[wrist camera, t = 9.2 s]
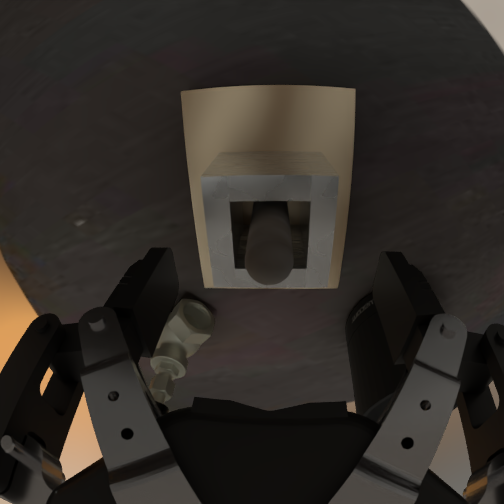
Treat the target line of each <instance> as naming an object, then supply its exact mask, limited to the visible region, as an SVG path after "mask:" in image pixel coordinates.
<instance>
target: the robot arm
mask: <svg viewBox="0 0 504 504" xmlns="http://www.w3.org/2000/svg"><path fill="white" fill-rule="evenodd" d="M178 289H179V283H178V277H177V272H176V267H175V262H174V257H173V252H172V250H171V248H151V249H150V250H149V251H148V253H147V254H146V256H145V257H144V259H143V260H138V261H137V262H136V263H134V264H133V265H132V266H130V267H129V269H128V270H127V272H126V273H125V274H124V277H122V279H121V280H120V282H119V284H118V285H117V286H116V288H115V289H114V291H113V292H112V294H111V295H110V297H109V298H108V300H107V302H106V303H105V305H104V306H103V307H97V308H93V309H91V310H89V311H88V312H86V313H85V314H84V315H83V316H82V317H81V319H80V320H79V323H72V324H64V325H62V324H61V322H60V320H59V318H58V317H57V316H56V315H55V314H50V313H49V314H44V315H41V316H39V317H37V318H36V319H35V320H34V321H33V322H32V323H31V324H30V325H29V327H28V328H27V330H26V332H25V333H24V335H23V336H22V338H21V339H20V341H19V342H18V344H17V346H16V347H15V349H14V351H13V352H12V354H11V355H10V357H9V359H8V361H7V362H6V364H5V366H4V367H3V369H2V371H1V373H0V498H2V499H4V500H6V501H8V502H10V503H12V504H504V326H503V325H501V324H491V325H490V326H489V327H488V328H487V330H486V331H485V333H484V335H483V334H478V333H472V332H467V330H466V327H465V325H464V324H463V323H462V322H461V321H460V320H459V319H458V318H456V317H454V316H452V315H449V314H445V312H444V310H443V308H442V307H441V305H440V303H439V301H438V299H437V298H436V296H435V294H434V292H433V291H432V290H431V287H430V285H429V284H428V283H427V280H426V279H425V277H424V275H423V274H422V272H421V271H419V270H418V269H417V268H416V267H415V266H413V265H409V264H408V262H407V260H406V259H405V257H404V255H403V254H402V253H401V252H382V253H381V255H380V258H379V263H378V267H377V271H376V275H375V280H374V284H373V300H374V303H375V306H376V308H377V311H378V314H379V317H380V320H381V323H382V326H383V329H384V333H385V336H386V339H387V342H388V345H389V349H390V352H391V355H392V359H393V362H394V365H396V364H406V367H407V369H406V371H405V372H404V374H403V376H402V378H401V380H400V382H399V384H398V386H397V388H396V390H395V392H394V393H393V395H392V397H391V399H390V401H389V402H388V404H387V406H386V408H385V409H384V411H383V413H382V414H381V416H380V418H379V419H378V421H377V422H375V421H373V420H371V419H369V418H368V417H365V416H363V415H360V414H356V413H353V412H348V411H347V405H346V401H342V402H320V403H306V404H302V405H298V406H293V407H289V408H284V409H279V410H274V411H267V410H262V409H259V408H255V407H251V406H248V405H244V404H241V403H237V402H234V401H231V400H219V399H209V398H200V397H194V401H193V405H192V407H187V408H182V409H178V410H175V411H171V412H169V413H167V414H164V415H162V414H161V412H160V410H159V408H158V406H157V404H156V402H155V400H154V398H153V396H152V393H151V391H150V389H149V387H148V385H147V382H146V380H145V378H144V375H143V373H142V371H141V368H140V366H139V364H138V362H139V360H140V357H141V356H142V357H148V358H152V357H153V354H154V352H155V349H156V346H157V344H158V341H159V339H160V336H161V334H162V331H163V329H164V326H165V324H166V322H167V319H168V317H169V314H170V312H171V309H172V307H173V305H174V302H175V300H176V298H177V295H178ZM48 367H50V369H51V370H52V371H53V374H52V376H51V378H50V381H49V382H48V385H47V387H46V389H45V391H44V393H43V395H42V396H41V393H40V384H41V381H42V379H43V377H44V375H45V373H46V371H47V369H48ZM492 381H494V384H495V387H496V389H497V392H498V395H499V406H498V409H496V406H495V404H494V400H493V397H492V394H491V392H490V389H489V386H488V385H489V384H490V383H491V382H492ZM83 392H84V393H85V397H86V402H87V406H88V409H89V413H90V417H91V420H92V424H93V428H94V431H95V434H96V437H97V441H98V443H99V447H100V450H101V453H102V455H103V457H102V458H101V459H99V460H98V461H96V462H95V463H93V464H92V465H90V466H88V467H87V468H85V469H84V470H82V471H81V472H79V473H78V474H76V475H74V476H73V477H71V478H70V479H68V480H66V481H65V475H64V473H63V472H62V466H61V463H60V461H59V459H60V456H61V452H62V449H63V446H64V443H65V440H66V438H67V435H68V432H69V429H70V426H71V424H72V421H73V418H74V415H75V413H76V410H77V407H78V405H79V402H80V400H81V397H82V395H83ZM455 401H456V402H457V406H458V410H459V413H460V417H461V422H462V425H463V430H464V435H465V439H466V444H467V449H468V454H469V460H470V466H471V472H472V475H471V476H470V478H469V480H468V483H467V487H466V488H465V489H464V491H463V497H462V496H461V495H460V494H458V493H457V492H456V491H455V490H453V489H452V488H451V487H450V486H449V485H448V484H446V483H445V482H444V481H443V480H442V479H441V478H439V477H438V476H437V475H436V474H435V473H434V472H432V471H431V470H430V469H429V466H430V464H431V462H432V459H433V457H434V455H435V453H436V451H437V448H438V446H439V444H440V441H441V439H442V436H443V434H444V431H445V429H446V426H447V424H448V421H449V418H450V415H451V412H452V410H453V407H454V404H455Z"/></svg>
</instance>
